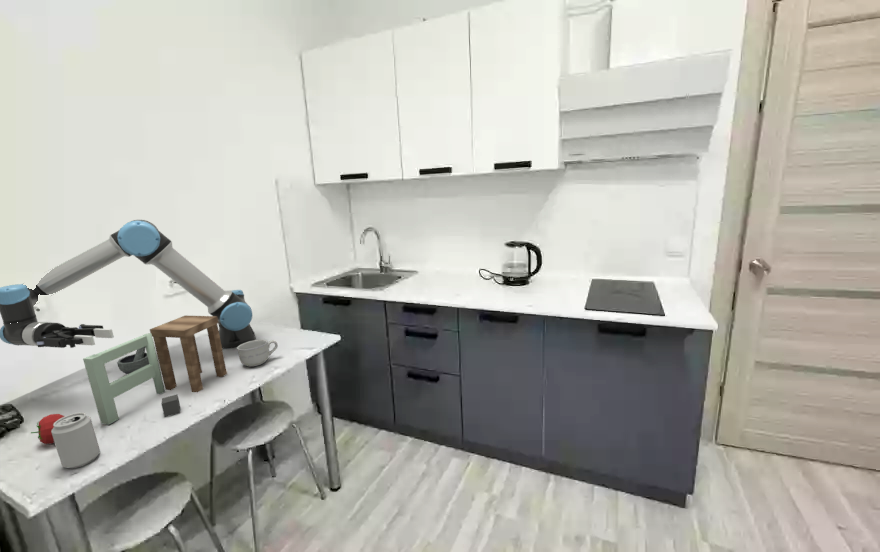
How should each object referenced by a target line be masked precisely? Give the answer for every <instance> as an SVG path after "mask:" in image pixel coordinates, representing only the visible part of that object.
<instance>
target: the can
mask: <svg viewBox="0 0 880 552" xmlns="http://www.w3.org/2000/svg"><path fill="white" fill-rule="evenodd" d="M64 416H65V417H62V418H60V419H59V420H57V421H56V422H55V423H54V424H53V426H54V428H53V429H52V431H51V432H52V436H53V439H54V442H55V443H54V445H55V448H56V451H57V454H58V457H59V461H60V464H61V466H62V467H63V468H65V469H66V468H68V469H78V468H80V467H83V466H86V465H88V464H91V462H93V461H94V460H96V459H97V457H98V456H99V454H100V452H101V449H100V445H99V442H98V439H97V435H96V434H97V433H96V431H95V427H94V425H93V421H92V418H91V417H90V416H88V415H87V413H85V412H74V413H71V414H67V415H64Z"/></svg>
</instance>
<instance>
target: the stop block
mask: <svg viewBox="0 0 880 552" xmlns="http://www.w3.org/2000/svg"><path fill="white" fill-rule="evenodd" d="M178 395H179V394H177V393H176V394H173V395H169V396H166V397H165V396H164V397H161V409H162V412H163V417H164V418H167V417H172V416H175V415H178V414H181V404H180V399H179V396H178Z"/></svg>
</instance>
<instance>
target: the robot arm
mask: <svg viewBox="0 0 880 552" xmlns="http://www.w3.org/2000/svg"><path fill="white" fill-rule="evenodd" d="M131 256H133V257H135V258H137V259H138V260H139V261H140V262H142V263H143V264H144V265H152V266H154V267H156V268H157V269H158V270H159V271H161V272H162V273H163V274H164V275H166V276H167V277H168V278H170V280H173V281H174V282H175V284H177V285H179V286H181V288H183V289H184V290H185V291H186V292H188V294H190V295H192V297H194V298H196V299H197V300H198V301H199V302H200V303H202V304H203V305H205V307H207V313H208V314H209V315H210V316H217V318H218V324H217V325H218V330H219V335H220V340H221V346H222V349H235V348H236V349H237V347H238V346H239V345H241V344H243V343H246V342H249V341H253V340H257V337H256V333H255V331H254V328H252V326H251V322H252V319H253V311H252V307H251V306H250V305H249V304H248V303H247V301H246V299H245V294H244V292H243V290H241V289H232V290H225V289H224V288H222V287H221V286H219V285H218V284H217V283H216V282H215V281H213V279H211V278H210V277H209V276H208V275H206V274H205V273H204V272H203V271H201V270H200V269H199V268H198V267H197V266H196V265H194V264H193V263H192V262H191V261H189V260H188V259H187V258H186V257H184V256H183V255H182V254H181V253H180V252H178V250H176V249H175V248H174V247H173V241H172V240H171V239H169V237H167V235H164V234H163V233H162V232H161V231H160V230H159V228H157V226H156V225H155V224H154V223H152V222H150V221H148V220H145V219H133V220H131V221H129V222H127V223H125V224H123V226H121V228H119V229H118V230H117V231H115V232H114V233H112V234H109V238H108V239H106V240H105V241H102V242H100V243H99V244H97V245H94V246H93V247H91V248H89V249H87V250H85V251H83V252H82V253H80V254H78V255H76V256H74V257H72V258H70V259H68V260H66V261H65V262H63V263H61V264H58V265H59V266H58V265H57V266H55V267H53V268H54V269H53V268H51V269H52V270H51V269H50V270H51V271H50V272H49V273H47V274H46V275H45V276H44V277H43V278H41V280H40V281H39V283H38V284H37V285H36V288H35V289H34V290H32V289H29V288H27V286H26V285H23V284H24V283H20V284H19V283H18V284H11V285H10V284H9V285H5V286H1V287H0V317H1V318H2V319H1V320H2V323H3V325H2V326H1V327H0V340H1V341H2V342H3V343H6V344H8V345H13V346H31V347H33V346H34V347H38V348H44V347H45V348H46V347H47V348H58V349H60V348H61V349H64V348H66V347H67V346H69V348H70V349H73V348H76V345H77V346H79V345H80V346H95V345H96V343H95V339H94V337H95V338H97V339H98V338H101V339H113V338H114V337H115V336H114V333H113V329H112V328H104V325H97V324H95V325H94V324H86V323H85V324H84V323H80V324H79V326H78V327H75V326H74V327H69V326H65V325H64V324H62V323H59V322H47V321H46V322H45V321H38V319H37V315H36V312H35V308H34V305H35V304H36V302H37V301H38V295H39V294H40V295H49V294H53V293H55V294H57V293H58V291H59V292H60V290H61V291H62V289H63V290H65V289H66V288H68V287H70V286H72V285H74V284H75V283H78V282H80V281H81V280H83V279H85V278H86V277H89V276H90V275H92V274H94V273H96V272H98V271H99V270H101V269H103V268H105V267H107V266H109V265H110V264H112V263H115V262H116V261H118V260H121V259H122V258H124V257H131ZM56 292H57V293H56ZM53 295H54V294H53ZM36 305H37V304H36ZM36 305H35V306H36ZM17 322H18V323H17ZM10 323H11V324H10Z"/></svg>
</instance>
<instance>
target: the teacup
mask: <svg viewBox="0 0 880 552" xmlns="http://www.w3.org/2000/svg"><path fill="white" fill-rule="evenodd" d="M271 344H274V347H273V348H272V349H271V350H270V346H271ZM277 349H278V342H277V341H276V340H274V339H273V340H272V339H271V340H270V341H268V340H267V339H255V340H253V341H249V342H246V343H243V344H241V345H239V346H238V347H236V350H237V354H238V357H239V361H240V363H241V364H242V365H245V366H247V367H257V366H260V365H262V364H264V363H266V361H267V360H268V359H269V358H270V357H271V356H272V354H273V353H274V352H275V351H276V350H277Z"/></svg>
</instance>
